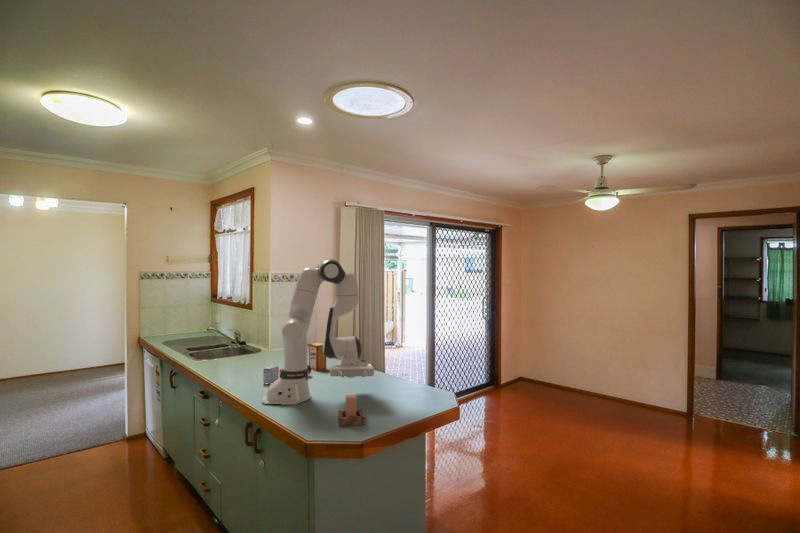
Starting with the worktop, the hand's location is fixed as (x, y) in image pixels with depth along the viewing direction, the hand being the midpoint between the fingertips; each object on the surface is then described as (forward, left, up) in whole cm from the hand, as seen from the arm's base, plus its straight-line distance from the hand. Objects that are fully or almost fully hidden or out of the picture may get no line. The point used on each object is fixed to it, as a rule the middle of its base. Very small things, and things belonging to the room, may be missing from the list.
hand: (353, 375), depth 172 cm
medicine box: (-41, +51, -15) cm, 67 cm away
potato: (-26, +60, -15) cm, 68 cm away
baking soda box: (-16, +76, -15) cm, 79 cm away
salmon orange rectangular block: (-2, -13, -15) cm, 20 cm away
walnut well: (-2, -13, -15) cm, 20 cm away
